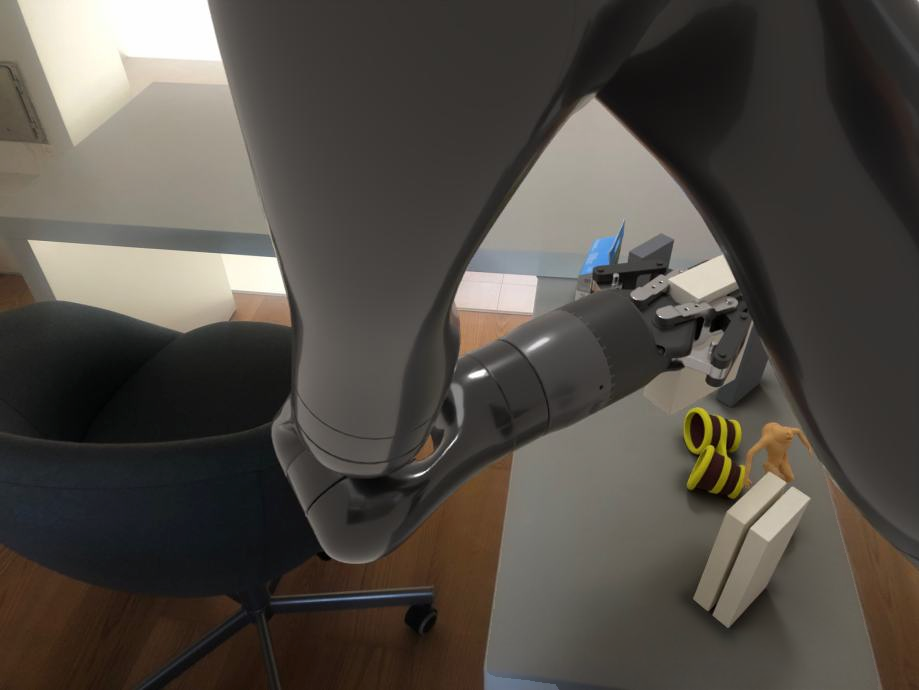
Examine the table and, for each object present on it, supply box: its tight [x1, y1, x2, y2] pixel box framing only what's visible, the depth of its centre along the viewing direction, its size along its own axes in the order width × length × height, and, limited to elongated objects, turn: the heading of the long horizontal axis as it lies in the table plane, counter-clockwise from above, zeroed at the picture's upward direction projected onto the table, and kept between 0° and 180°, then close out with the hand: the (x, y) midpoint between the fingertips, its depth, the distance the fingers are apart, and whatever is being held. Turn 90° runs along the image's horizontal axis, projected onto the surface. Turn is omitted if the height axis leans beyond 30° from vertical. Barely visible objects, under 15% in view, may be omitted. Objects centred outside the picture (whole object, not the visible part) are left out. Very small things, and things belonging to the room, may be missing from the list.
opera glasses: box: [683, 406, 745, 500], centre depth 71 cm, size 10×5×5 cm, turn 169°
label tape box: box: [574, 217, 626, 301], centre depth 89 cm, size 9×4×12 cm, turn 159°
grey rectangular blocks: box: [626, 232, 769, 408], centre depth 81 cm, size 17×6×13 cm, turn 40°
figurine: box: [742, 422, 813, 498], centre depth 64 cm, size 8×6×12 cm
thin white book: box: [642, 253, 753, 417], centre depth 55 cm, size 3×8×12 cm, turn 123°
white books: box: [692, 472, 812, 629], centre depth 58 cm, size 4×6×13 cm, turn 130°
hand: (740, 280), depth 54 cm, fingers closed on thin white book, 3 cm apart
